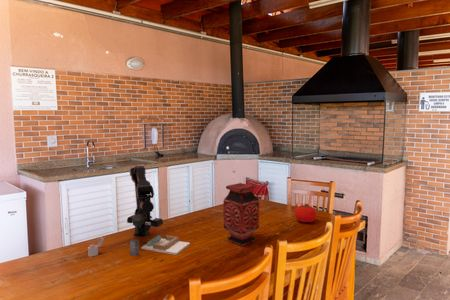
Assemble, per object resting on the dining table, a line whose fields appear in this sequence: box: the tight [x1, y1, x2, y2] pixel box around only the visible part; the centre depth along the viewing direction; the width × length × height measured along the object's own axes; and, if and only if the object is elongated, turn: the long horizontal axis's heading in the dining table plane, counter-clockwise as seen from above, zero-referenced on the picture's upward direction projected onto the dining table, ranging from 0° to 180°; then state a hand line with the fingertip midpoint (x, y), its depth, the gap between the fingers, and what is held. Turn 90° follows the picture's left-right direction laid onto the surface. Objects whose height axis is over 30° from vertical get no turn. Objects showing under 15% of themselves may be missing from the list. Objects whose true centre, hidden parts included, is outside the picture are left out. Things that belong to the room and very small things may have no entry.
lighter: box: [87, 236, 105, 258], centre depth 163 cm, size 7×2×8 cm, turn 125°
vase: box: [222, 182, 260, 247], centre depth 180 cm, size 14×14×30 cm
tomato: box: [293, 204, 317, 223], centre depth 214 cm, size 13×12×11 cm
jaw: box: [147, 235, 162, 246], centre depth 176 cm, size 2×10×2 cm, turn 158°
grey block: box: [129, 238, 140, 257], centre depth 164 cm, size 3×3×7 cm
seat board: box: [141, 235, 191, 256], centre depth 173 cm, size 20×14×3 cm
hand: (145, 236), depth 178 cm, fingers closed
